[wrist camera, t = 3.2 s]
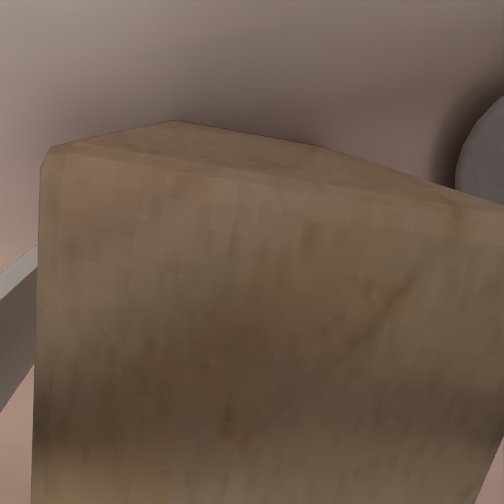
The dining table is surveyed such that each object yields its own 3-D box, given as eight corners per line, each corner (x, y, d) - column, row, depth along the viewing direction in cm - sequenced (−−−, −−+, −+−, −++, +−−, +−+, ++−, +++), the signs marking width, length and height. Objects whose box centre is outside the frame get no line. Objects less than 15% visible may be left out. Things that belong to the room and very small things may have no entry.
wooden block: (149, 273, 28) (19, 600, 9) (166, 118, 25) (28, 137, 6) (294, 292, 30) (438, 613, 11) (327, 147, 27) (605, 234, 8)
